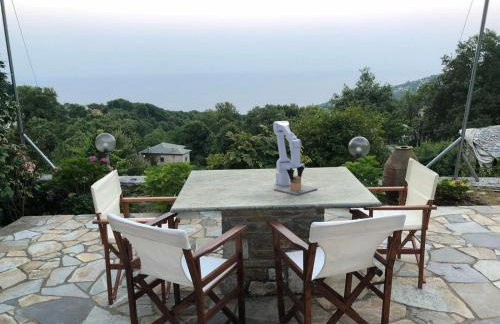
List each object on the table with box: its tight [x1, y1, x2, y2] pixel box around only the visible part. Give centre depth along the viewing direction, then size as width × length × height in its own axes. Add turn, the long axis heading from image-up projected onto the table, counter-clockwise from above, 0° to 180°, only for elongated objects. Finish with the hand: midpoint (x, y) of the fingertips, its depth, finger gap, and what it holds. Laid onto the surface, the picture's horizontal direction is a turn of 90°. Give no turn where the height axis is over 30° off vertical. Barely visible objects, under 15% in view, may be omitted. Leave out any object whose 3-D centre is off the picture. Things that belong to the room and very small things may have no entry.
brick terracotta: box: [290, 182, 302, 190], centre depth 256 cm, size 6×4×4 cm, turn 41°
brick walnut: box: [290, 174, 302, 184], centre depth 255 cm, size 6×4×4 cm, turn 41°
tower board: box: [273, 184, 318, 196], centre depth 257 cm, size 20×20×1 cm
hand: (295, 178), depth 255 cm, fingers open, 7 cm apart
